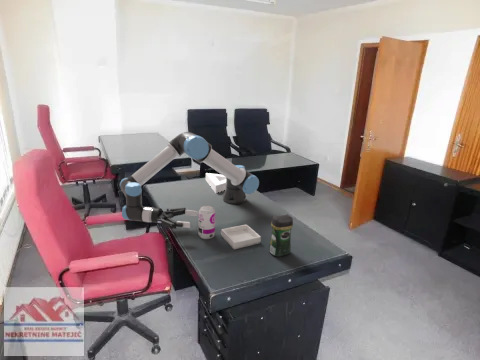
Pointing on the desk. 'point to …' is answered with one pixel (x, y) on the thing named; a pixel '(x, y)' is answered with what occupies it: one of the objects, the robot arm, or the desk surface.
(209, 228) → the supplement can
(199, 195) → the desk surface
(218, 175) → the triangle block
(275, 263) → the desk surface
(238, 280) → the desk surface
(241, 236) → the tray
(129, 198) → the robot arm
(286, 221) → the coffee jar
